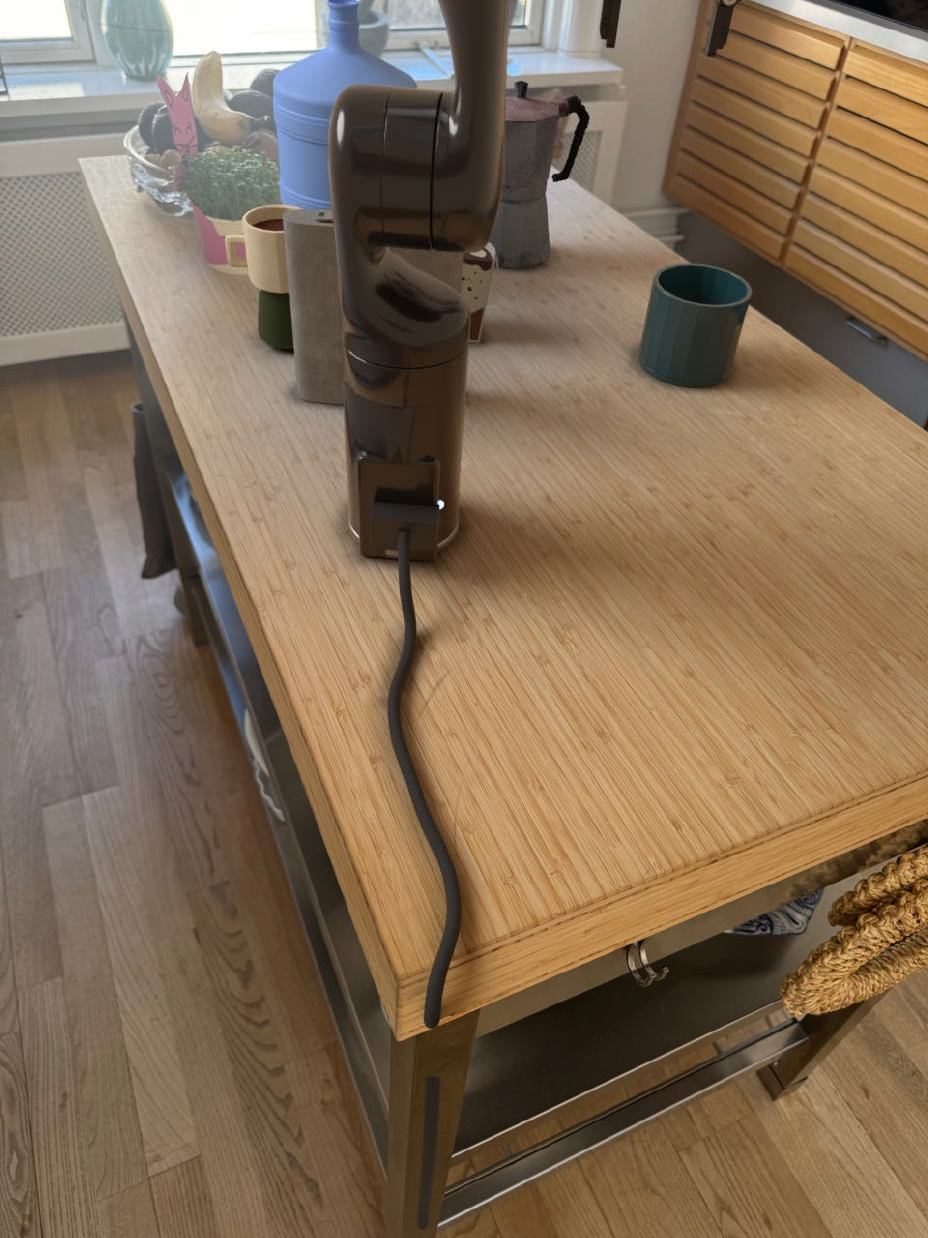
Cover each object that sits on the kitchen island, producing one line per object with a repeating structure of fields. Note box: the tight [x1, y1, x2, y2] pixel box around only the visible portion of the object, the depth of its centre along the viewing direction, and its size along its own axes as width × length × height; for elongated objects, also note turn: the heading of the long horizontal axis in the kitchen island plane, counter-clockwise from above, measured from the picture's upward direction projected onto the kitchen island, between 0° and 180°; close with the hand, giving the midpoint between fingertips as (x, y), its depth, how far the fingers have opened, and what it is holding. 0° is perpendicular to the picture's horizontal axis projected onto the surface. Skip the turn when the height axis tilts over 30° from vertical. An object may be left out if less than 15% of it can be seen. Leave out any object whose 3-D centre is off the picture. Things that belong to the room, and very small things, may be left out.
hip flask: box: [283, 209, 464, 406], centre depth 86 cm, size 16×4×20 cm, turn 93°
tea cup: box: [637, 262, 753, 388], centre depth 98 cm, size 10×10×9 cm
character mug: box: [224, 204, 302, 350], centre depth 96 cm, size 11×7×13 cm, turn 93°
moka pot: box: [489, 80, 591, 269], centre depth 113 cm, size 10×15×20 cm, turn 115°
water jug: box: [272, 0, 418, 211], centre depth 104 cm, size 16×16×28 cm
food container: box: [462, 242, 500, 344], centre depth 101 cm, size 12×6×10 cm, turn 84°
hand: (659, 50), depth 79 cm, fingers open, 8 cm apart
